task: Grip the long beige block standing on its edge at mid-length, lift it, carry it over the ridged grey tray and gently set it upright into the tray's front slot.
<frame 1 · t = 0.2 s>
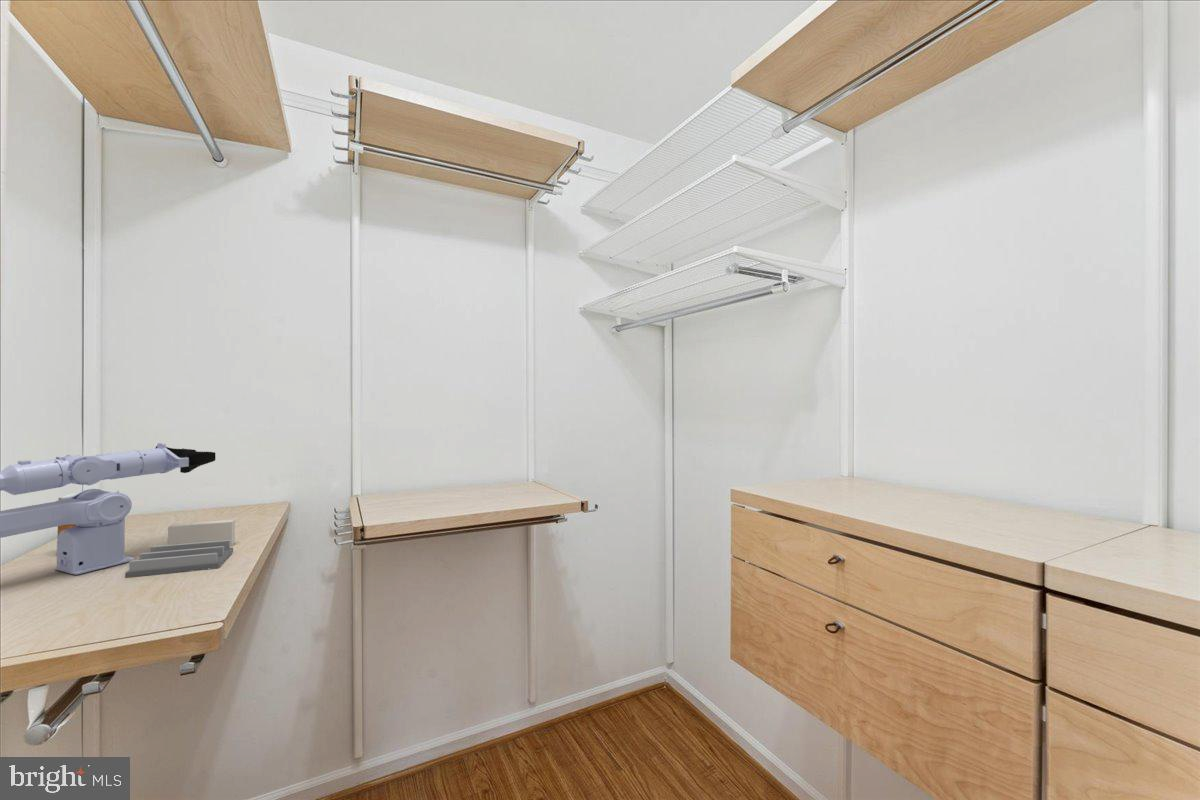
hand: (204, 455, 120), 21 cm above the shelf, tool horizontal, fingers open, 7 cm apart
long beige block: (202, 547, 114), on the shelf
small box: (88, 550, 111), on the shelf
ridged grey tray: (183, 563, 103), on the shelf
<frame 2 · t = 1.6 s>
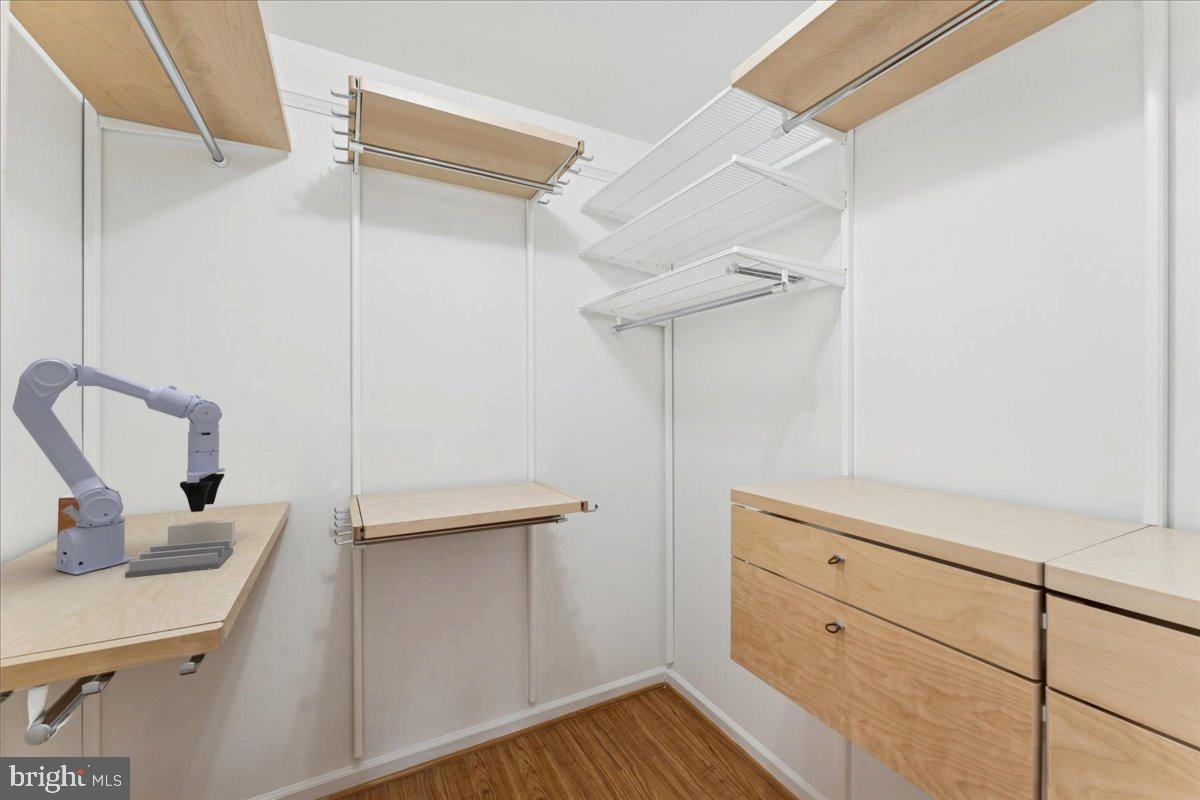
hand: (202, 507, 114), 9 cm above the shelf, tool pointing down, fingers open, 7 cm apart
nothing on the shelf moved.
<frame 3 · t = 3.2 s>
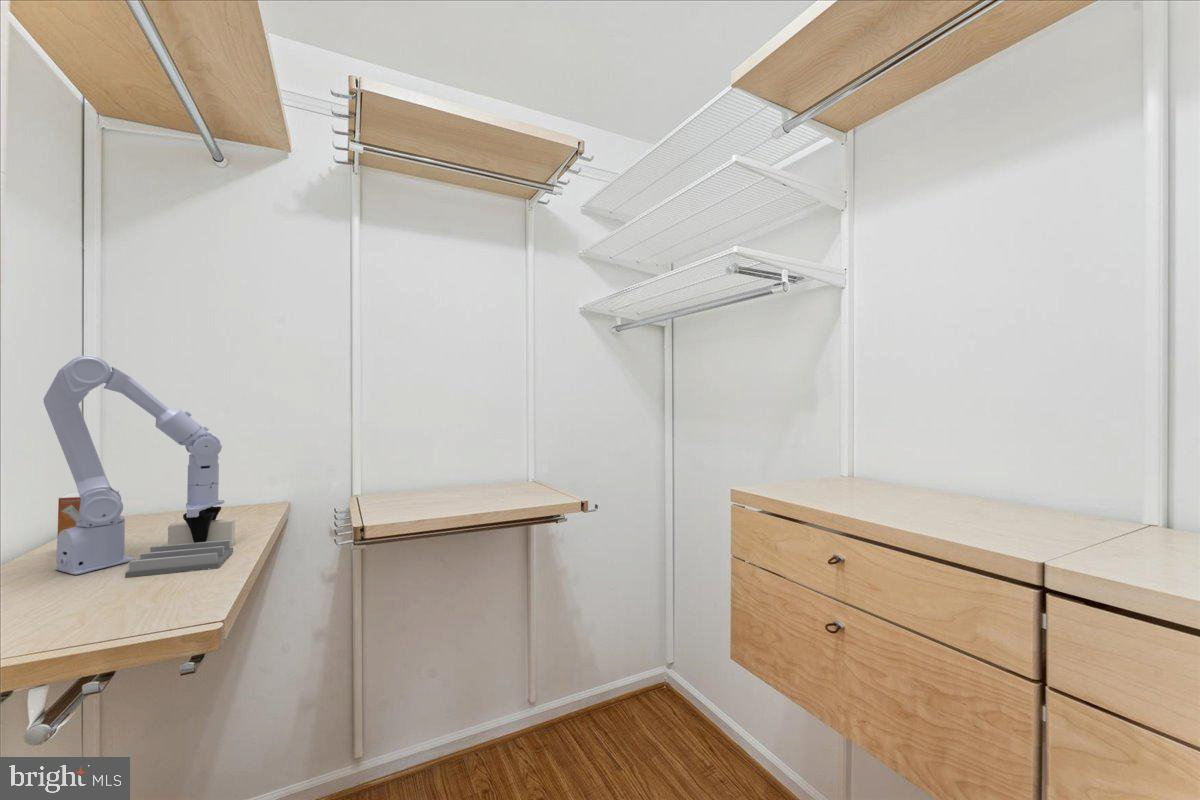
hand: (202, 540, 114), 2 cm above the shelf, tool pointing down, fingers closed on long beige block, 3 cm apart
long beige block: (202, 547, 114), on the shelf, touching gripper
everything else where it was.
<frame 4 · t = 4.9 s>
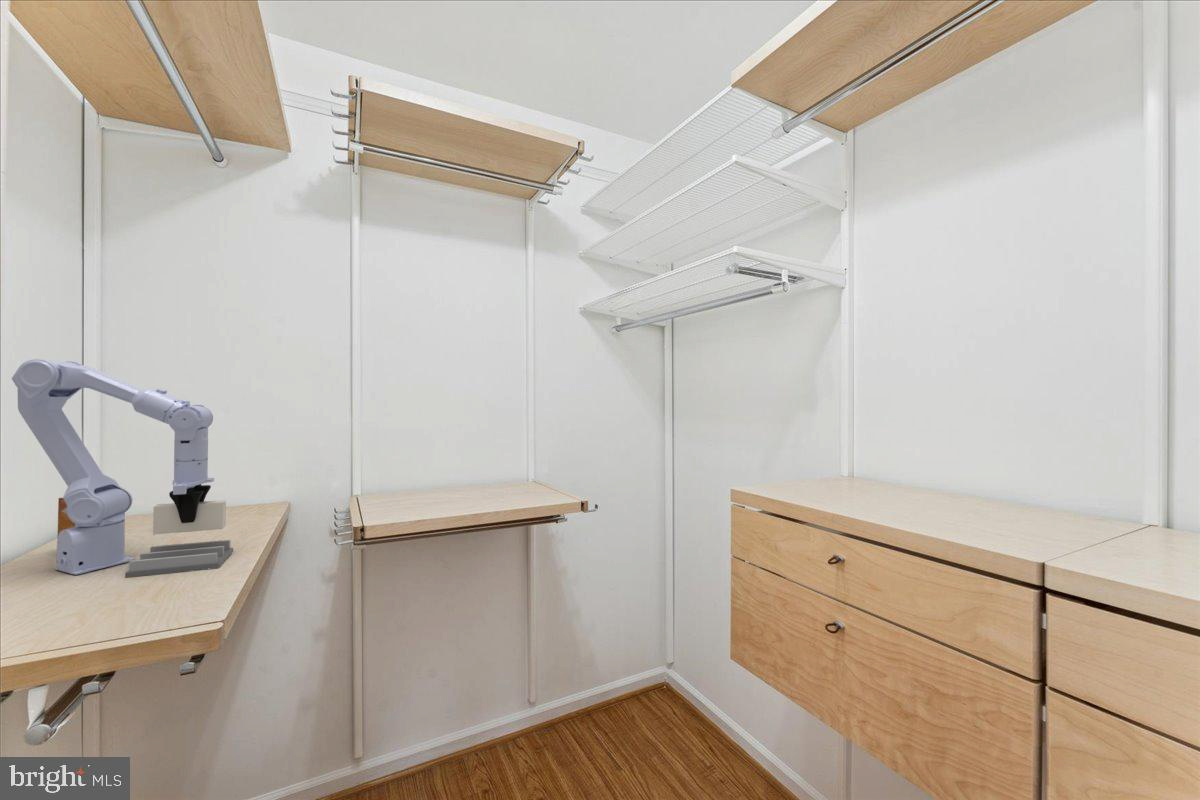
hand: (190, 520, 107), 8 cm above the shelf, tool pointing down, fingers closed on long beige block, 3 cm apart
long beige block: (190, 530, 107), point 6 cm above the shelf, touching gripper
everything else where it was.
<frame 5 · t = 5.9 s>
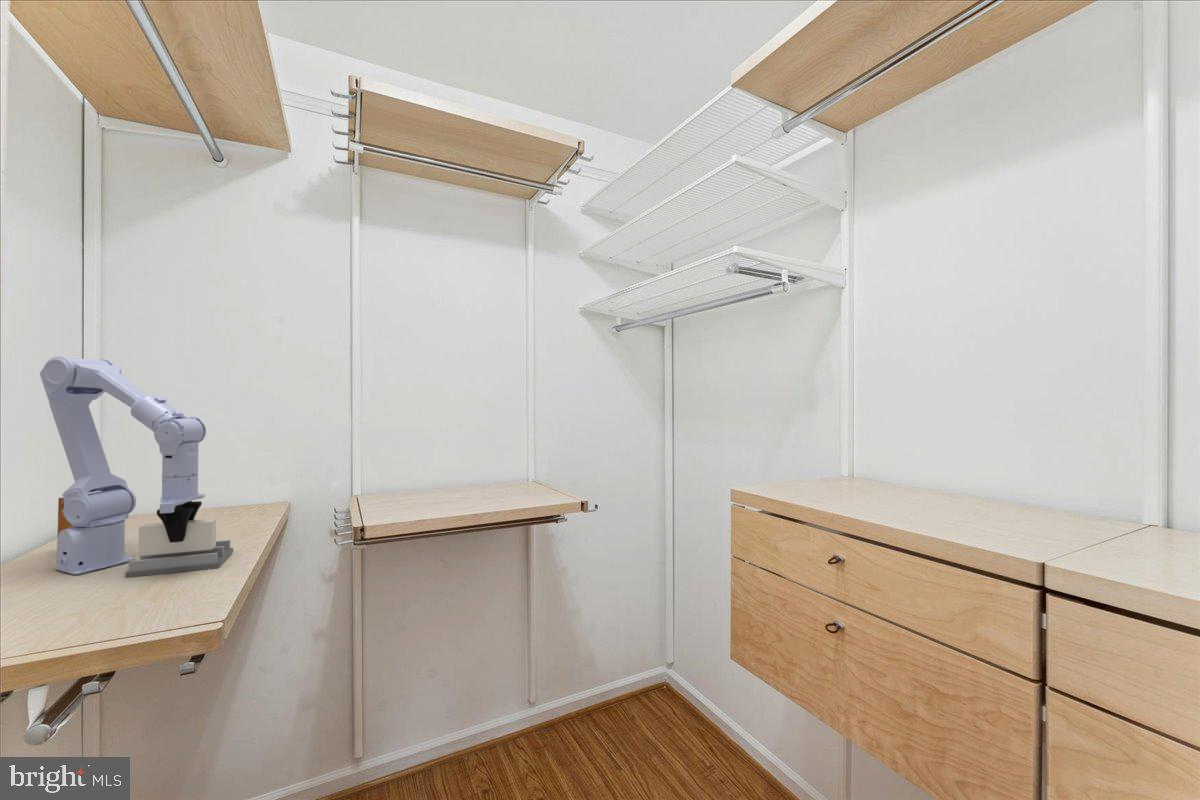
hand: (179, 539, 101), 6 cm above the shelf, tool pointing down, fingers closed on long beige block, 3 cm apart
long beige block: (178, 550, 101), point 4 cm above the shelf, touching gripper
everything else where it was.
when the fingers open (4 cm above the shelf, at t = 6.5 s): long beige block stays where it is, resting on ridged grey tray.
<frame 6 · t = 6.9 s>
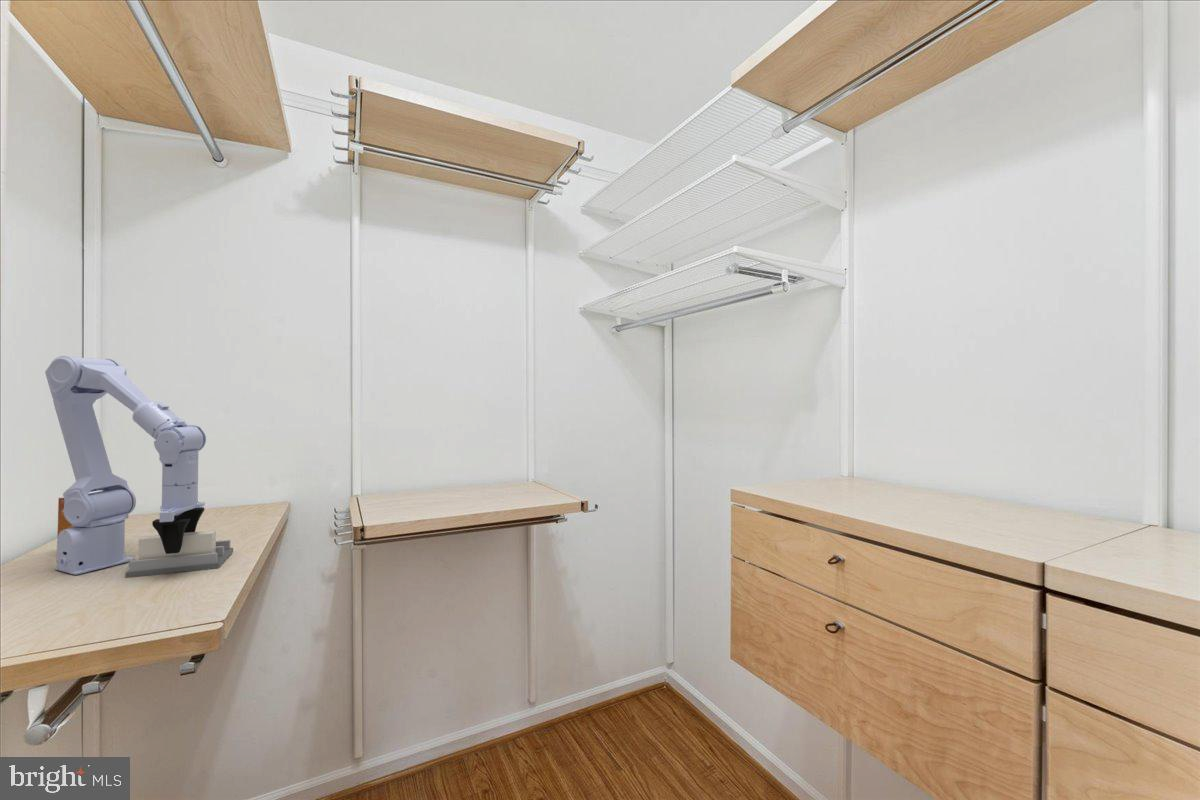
hand: (179, 547, 101), 4 cm above the shelf, tool pointing down, fingers open, 6 cm apart
long beige block: (178, 563, 101), point 1 cm above the shelf, touching ridged grey tray
everything else where it was.
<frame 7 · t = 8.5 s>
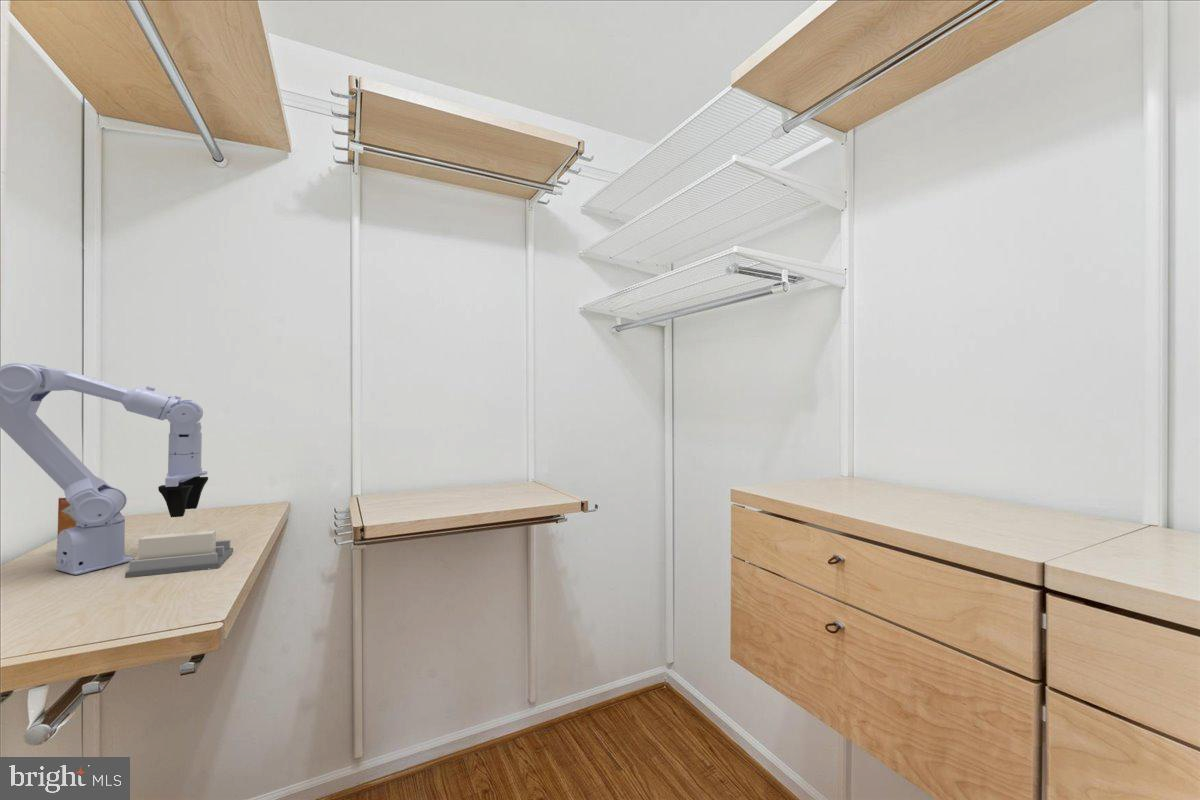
hand: (184, 512, 110), 9 cm above the shelf, tool pointing down, fingers open, 7 cm apart
nothing on the shelf moved.
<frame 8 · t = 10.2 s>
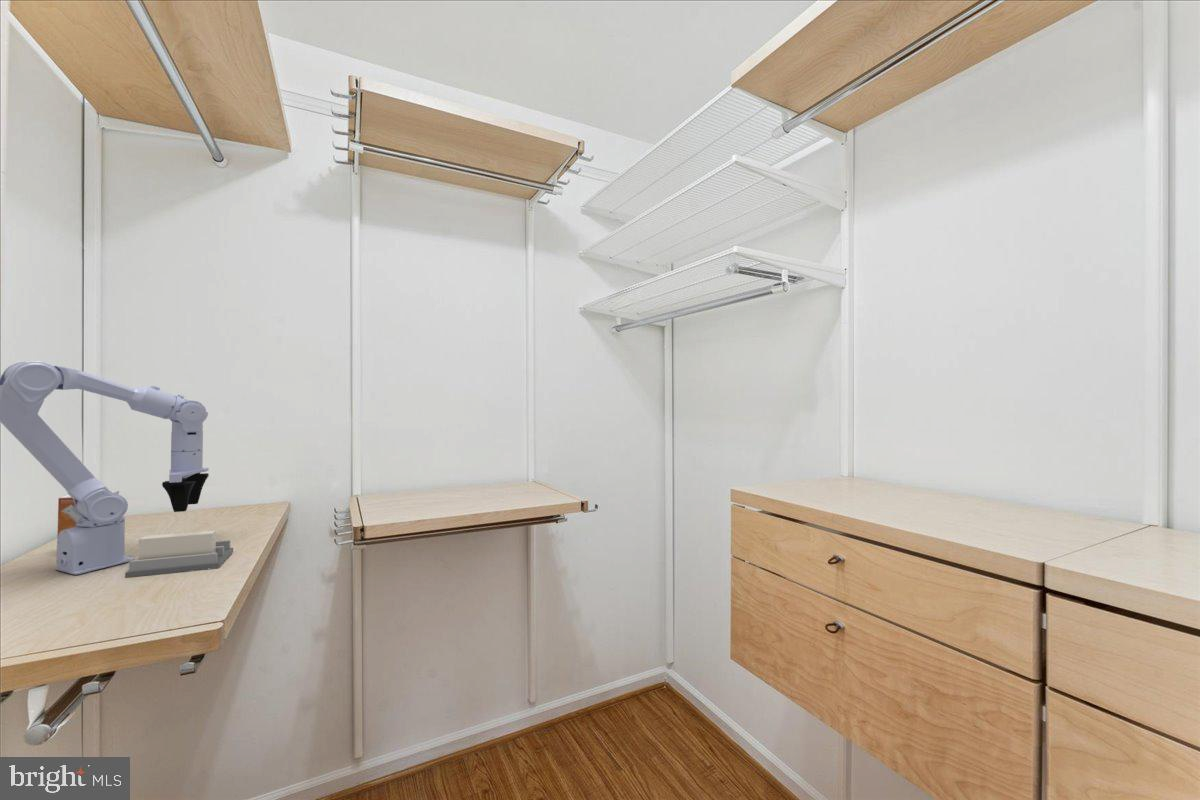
hand: (186, 507, 114), 9 cm above the shelf, tool pointing down, fingers open, 7 cm apart
nothing on the shelf moved.
at the end: long beige block 0.1 cm from the target spot on the ridged grey tray, point 1.0 cm above the ridged grey tray's base; long beige block tilted 0°; the gripper is holding nothing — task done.
